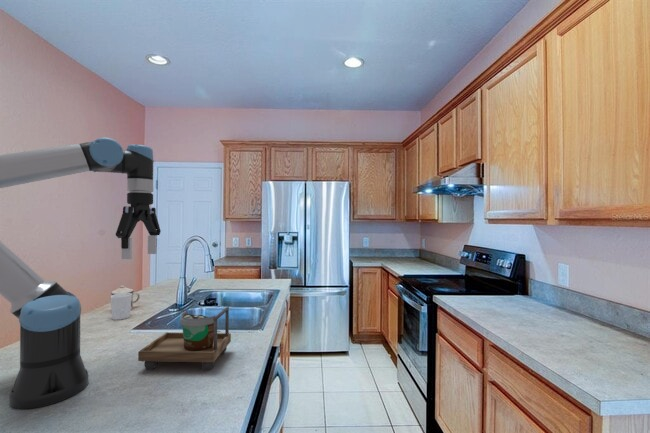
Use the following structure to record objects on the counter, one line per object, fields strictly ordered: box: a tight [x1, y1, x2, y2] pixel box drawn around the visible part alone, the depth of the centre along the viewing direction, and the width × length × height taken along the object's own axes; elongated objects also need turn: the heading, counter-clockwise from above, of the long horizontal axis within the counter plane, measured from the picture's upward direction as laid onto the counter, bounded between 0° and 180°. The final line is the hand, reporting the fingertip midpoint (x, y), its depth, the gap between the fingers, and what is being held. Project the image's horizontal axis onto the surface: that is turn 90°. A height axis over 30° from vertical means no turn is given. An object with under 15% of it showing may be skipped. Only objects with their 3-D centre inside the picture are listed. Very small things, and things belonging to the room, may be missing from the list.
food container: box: [179, 310, 216, 351], centre depth 96 cm, size 12×6×10 cm, turn 68°
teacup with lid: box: [110, 285, 140, 311], centre depth 151 cm, size 12×9×12 cm
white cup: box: [110, 293, 132, 321], centre depth 139 cm, size 8×8×10 cm
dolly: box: [137, 306, 232, 372], centre depth 97 cm, size 15×22×15 cm
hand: (140, 256), depth 104 cm, fingers open, 13 cm apart
